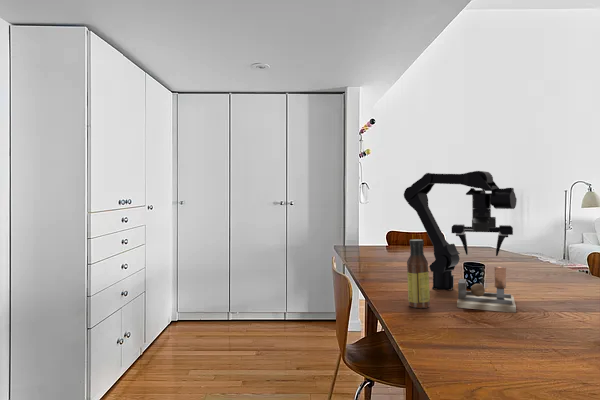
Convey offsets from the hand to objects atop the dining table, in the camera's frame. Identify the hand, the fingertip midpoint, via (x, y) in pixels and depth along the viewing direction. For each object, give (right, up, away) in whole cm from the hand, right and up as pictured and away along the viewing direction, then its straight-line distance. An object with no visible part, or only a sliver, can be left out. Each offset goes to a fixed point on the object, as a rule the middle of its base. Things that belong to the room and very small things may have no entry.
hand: (481, 255), depth 149 cm
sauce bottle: (-25, -13, -16) cm, 33 cm away
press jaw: (-1, -11, -15) cm, 19 cm away
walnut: (-6, -11, -12) cm, 18 cm away
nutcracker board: (-4, -13, -13) cm, 19 cm away
